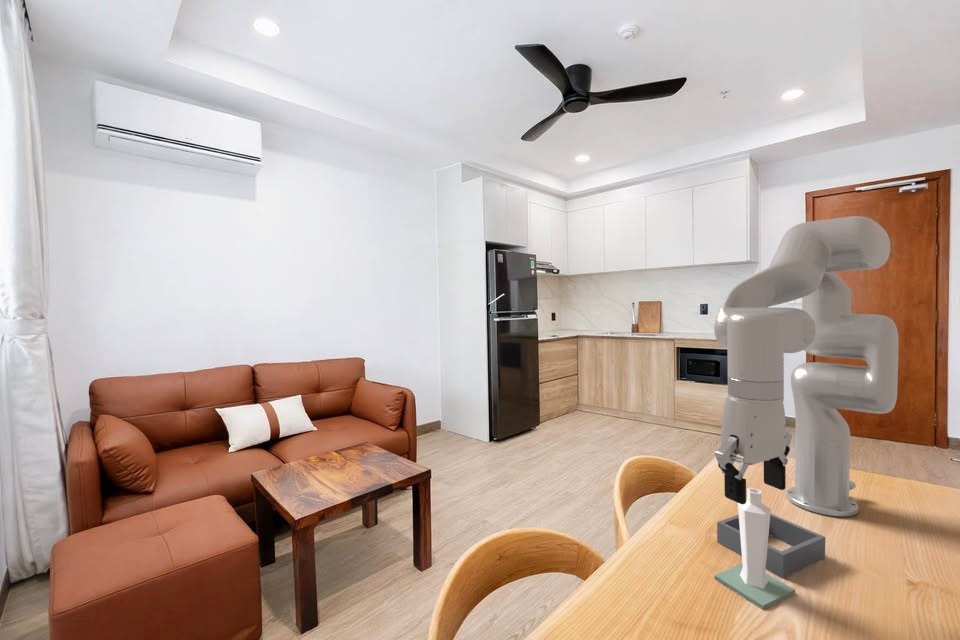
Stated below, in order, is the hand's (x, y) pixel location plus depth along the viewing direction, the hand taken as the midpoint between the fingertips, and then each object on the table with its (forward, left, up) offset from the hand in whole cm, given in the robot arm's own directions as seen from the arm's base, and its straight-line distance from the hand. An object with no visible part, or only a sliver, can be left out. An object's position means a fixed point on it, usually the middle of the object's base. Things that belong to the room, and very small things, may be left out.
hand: (755, 493), depth 70 cm
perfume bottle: (0, 0, -15) cm, 15 cm away
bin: (-12, -5, -15) cm, 20 cm away
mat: (+1, 0, -15) cm, 15 cm away
